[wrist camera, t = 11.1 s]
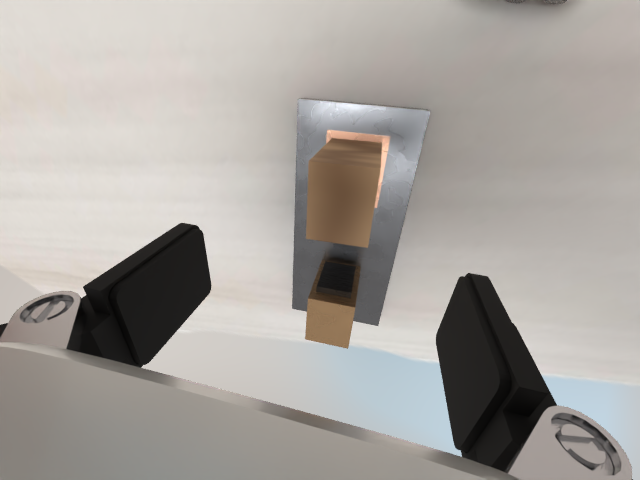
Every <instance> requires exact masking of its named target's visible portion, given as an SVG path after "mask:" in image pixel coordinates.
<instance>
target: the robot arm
mask: <svg viewBox="0 0 640 480" xmlns="http://www.w3.org/2000/svg"><path fill="white" fill-rule="evenodd" d="M83 288H84V290H85V292H86V296H84V297H83V298H82V299H81V297H80V296H79V295H78V294H77V293H75V292H72V291H59V292H53V293H49V294H46V295H43V296H40V297H38V298H35V299H33V300H31V301H29V302H27V303H26V304H24V305H23V306H21V307H20V308H19V309H18V310H17V311H16V312H15V313H14V314H13V316H12V318H11V319H10V321H9V323H6V324H2V325H0V480H633V479H632V466H631V464H630V462H629V459H628V457H627V455H626V453H625V452H624V450H623V449H622V448H621V446H620V445H619V443H618V442H617V441H616V440H615V439H614V438H613V437H612V436H611V435H610V434H609V433H608V432H607V431H606V430H605V429H604V428H603V427H602V426H600V425H599V424H598V423H596V422H595V421H594V420H593V419H591V418H589V417H588V416H586V415H584V414H582V413H581V412H579V411H576V410H573V409H571V408H568V407H563V406H557V404H556V403H555V401H554V399H553V397H552V395H551V393H550V391H549V389H548V387H547V385H546V383H545V381H544V379H543V378H542V376H541V374H540V372H539V370H538V368H537V366H536V364H535V362H534V360H533V358H532V356H531V355H530V353H529V351H528V349H527V347H526V345H525V343H524V341H523V339H522V337H521V335H520V333H519V332H518V330H517V328H516V326H515V325H514V324H513V323H512V322H511V320H510V318H509V316H508V314H507V312H506V310H505V308H504V306H503V304H502V302H501V300H500V298H499V297H498V295H497V293H496V291H495V289H494V287H493V285H492V283H491V281H490V279H489V278H488V277H487V276H482V275H477V274H471V273H468V274H467V275H466V276H465V277H463V276H461V277H460V278H459V279H458V282H457V284H456V287H455V289H454V292H453V294H452V297H451V299H450V302H449V304H448V307H447V309H446V312H445V314H444V317H443V319H442V322H441V324H440V327H439V329H438V332H437V335H436V346H437V351H438V357H439V363H440V368H441V373H442V379H443V385H444V391H445V396H446V402H447V407H448V413H449V419H450V424H451V429H452V435H453V441H454V445H455V447H456V448H457V449H458V450H461V453H462V457H460V456H456V455H453V454H450V453H447V452H443V451H440V450H436V449H433V448H430V447H426V446H423V445H419V444H416V443H413V442H409V441H406V440H403V439H399V438H395V437H392V436H389V435H385V434H381V433H378V432H375V431H371V430H367V429H363V428H360V427H356V426H352V425H349V424H346V423H342V422H339V421H335V420H331V419H328V418H324V417H320V416H317V415H313V414H310V413H306V412H303V411H299V410H295V409H291V408H288V407H284V406H281V405H277V404H273V403H270V402H266V401H262V400H258V399H255V398H251V397H248V396H244V395H240V394H237V393H233V392H229V391H225V390H222V389H218V388H214V387H210V386H207V385H203V384H200V383H196V382H192V381H189V380H185V379H181V378H177V377H173V376H170V375H166V374H162V373H158V372H154V371H151V370H146V369H143V368H141V367H142V366H143V365H145V364H147V363H149V362H150V361H151V360H152V359H153V357H154V356H155V355H156V354H157V353H158V352H159V350H160V349H161V348H162V347H163V346H164V345H165V344H166V343H167V341H168V340H169V339H170V338H171V337H172V336H173V335H174V333H175V332H176V331H177V330H178V329H179V328H180V327H181V325H182V324H183V323H184V322H185V321H186V320H187V318H188V317H189V316H190V315H191V314H192V313H193V312H194V310H195V309H196V308H197V307H198V306H199V305H200V304H201V302H202V301H203V300H204V299H205V298H206V297H207V296H208V294H209V293H210V290H211V280H210V274H209V267H208V261H207V255H206V249H205V242H204V236H203V232H202V231H201V230H200V229H199V227H198V226H196V225H192V224H186V223H180V224H178V225H177V226H175V227H174V228H172V229H171V230H169V231H168V232H166V233H165V234H163V235H161V236H160V237H158V238H157V239H155V240H154V241H152V242H151V243H149V244H148V245H146V246H145V247H143V248H142V249H140V250H139V251H137V252H135V253H134V254H132V255H131V256H129V257H128V258H126V259H125V260H123V261H122V262H120V263H119V264H117V265H116V266H114V267H113V268H111V269H110V270H108V271H106V272H105V273H103V274H102V275H100V276H99V277H97V278H96V279H94V280H93V281H91V282H90V283H88V284H87V285H85V286H84V287H83Z"/></svg>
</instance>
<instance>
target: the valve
mask: <svg viewBox="0 0 640 480" xmlns="http://www.w3.org/2000/svg"><path fill="white" fill-rule="evenodd" d="M506 1H507V2H510V3H522V2H525V1H526V0H506ZM566 1H567V0H545V2H546V3H549V4H561V3H564V2H566Z"/></svg>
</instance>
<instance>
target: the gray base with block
mask: <svg viewBox="0 0 640 480" xmlns="http://www.w3.org/2000/svg"><path fill="white" fill-rule="evenodd" d="M429 116H430V110H427V109H416V108H405V107H394V106H383V105H372V104H361V103H350V102H339V101H328V100H317V99H306V98H301V99H298V115H297V152H296V189H295V226H294V263H293V300H292V309H297V310H302V311H307V321H306V337H305V339H306V340H311V341H316V342H320V343H325V344H329V345H334V346H339V347H343V348H348V346H349V340H350V335H351V329H352V324H353V321H356V322H361V323H366V324H371V325H376V326H378V324H379V320H380V316H381V312H382V308H383V304H384V300H385V295H386V291H387V287H388V283H389V279H390V275H391V271H392V267H393V263H394V259H395V255H396V250H397V246H398V242H399V238H400V234H401V230H402V226H403V222H404V218H405V214H406V210H407V206H408V201H409V197H410V193H411V189H412V185H413V181H414V177H415V173H416V169H417V165H418V161H419V156H420V152H421V148H422V144H423V140H424V136H425V132H426V128H427V124H428V120H429ZM332 138H337V139H348V140H359V141H370V142H381V143H382V155H381V170H380V176H379V183H378V189H377V195H376V201H375V207H374V213H373V220H372V226H371V232H370V238H369V244H368V248H365V247H357V246H350V245H344V244H337V243H330V242H323V241H317V240H311V239H306V226H307V194H308V163H309V160H310V159H311V158H312V157H313V156H314V155H315V154H316V153H317V152H318V151H319V150H320V149H321V148H322V147H323V146H324V145H325V144H327V143H328V142H329V141H330V140H331V139H332Z"/></svg>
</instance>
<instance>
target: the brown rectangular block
mask: <svg viewBox="0 0 640 480" xmlns="http://www.w3.org/2000/svg"><path fill="white" fill-rule="evenodd" d="M381 155H382V143H381V142H370V141H359V140H348V139H337V138H332V139H331V140H330V141H329V142H328V143H327V144H325V145H324V146H323V147H322V148H321V149H320V150H319V151H318V152H317V153H316V154H315V155H314V156H313V157H312V158H311V159H310V160H309V163H308V194H307V226H306V239H311V240H317V241H323V242H330V243H337V244H344V245H350V246H357V247H365V248H368V244H369V238H370V232H371V226H372V220H373V213H374V207H375V201H376V195H377V189H378V183H379V176H380V170H381Z"/></svg>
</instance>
